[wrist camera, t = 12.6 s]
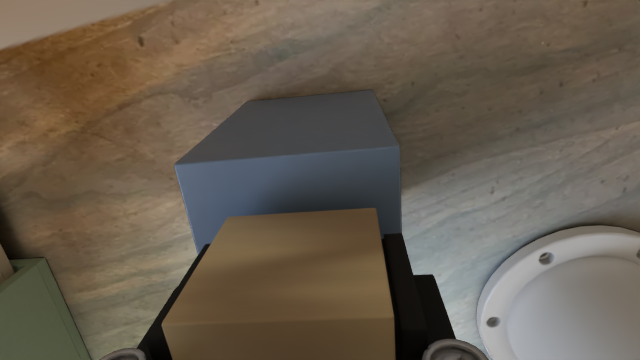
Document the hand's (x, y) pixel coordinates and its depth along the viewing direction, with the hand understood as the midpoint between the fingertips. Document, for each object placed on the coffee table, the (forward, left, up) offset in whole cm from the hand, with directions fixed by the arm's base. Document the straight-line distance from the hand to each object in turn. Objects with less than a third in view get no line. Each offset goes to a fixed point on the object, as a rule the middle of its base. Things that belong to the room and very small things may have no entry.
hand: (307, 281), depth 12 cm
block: (0, 0, 0) cm, 0 cm away
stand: (0, 0, -11) cm, 11 cm away
